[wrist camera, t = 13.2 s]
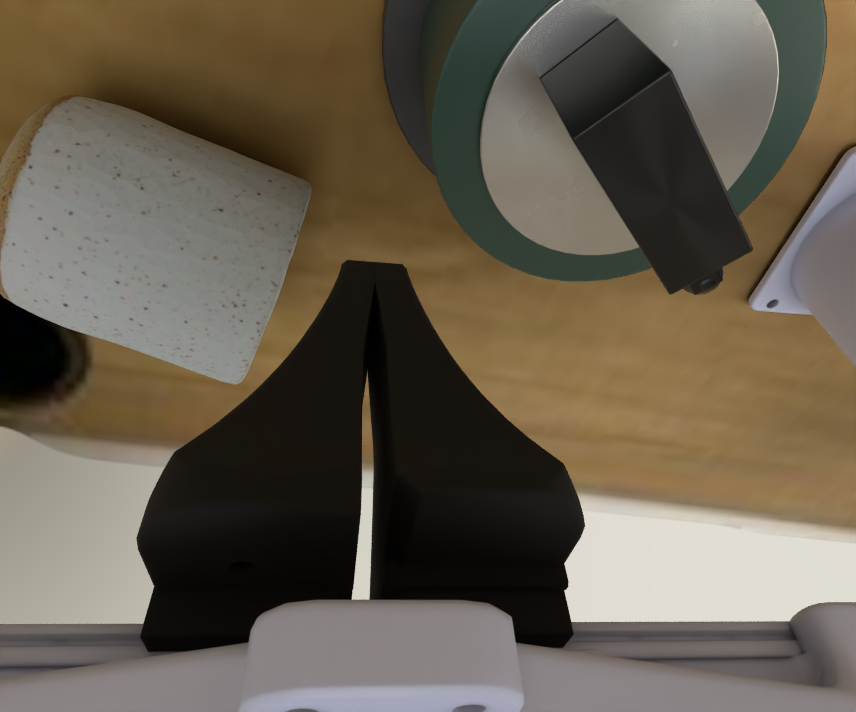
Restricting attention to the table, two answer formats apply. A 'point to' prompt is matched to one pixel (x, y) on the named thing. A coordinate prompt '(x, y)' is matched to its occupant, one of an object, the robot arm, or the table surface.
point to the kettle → (616, 127)
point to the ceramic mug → (145, 234)
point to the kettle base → (406, 72)
